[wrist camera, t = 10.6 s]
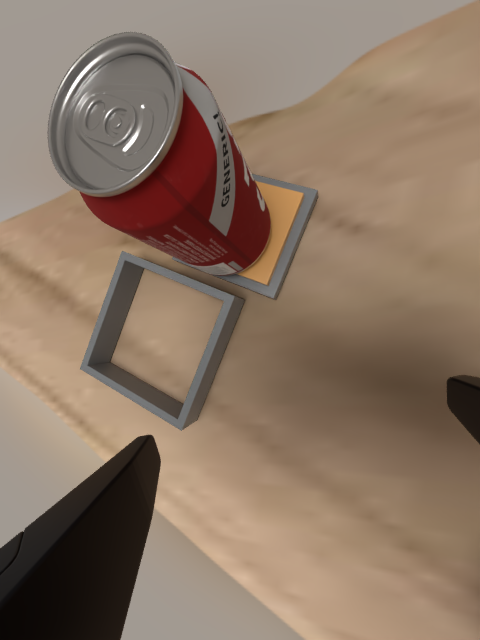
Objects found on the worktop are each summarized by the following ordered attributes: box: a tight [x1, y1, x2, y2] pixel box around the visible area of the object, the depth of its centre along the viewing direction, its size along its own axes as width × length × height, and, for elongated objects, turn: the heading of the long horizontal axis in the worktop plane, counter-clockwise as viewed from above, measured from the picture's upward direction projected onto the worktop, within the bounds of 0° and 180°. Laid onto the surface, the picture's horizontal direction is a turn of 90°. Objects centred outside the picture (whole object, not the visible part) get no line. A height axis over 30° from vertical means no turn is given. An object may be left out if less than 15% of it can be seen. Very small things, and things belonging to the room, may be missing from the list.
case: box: [80, 251, 245, 431], centre depth 23 cm, size 11×11×2 cm
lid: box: [172, 174, 318, 300], centre depth 21 cm, size 9×8×2 cm
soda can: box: [48, 32, 271, 276], centre depth 15 cm, size 7×7×12 cm
